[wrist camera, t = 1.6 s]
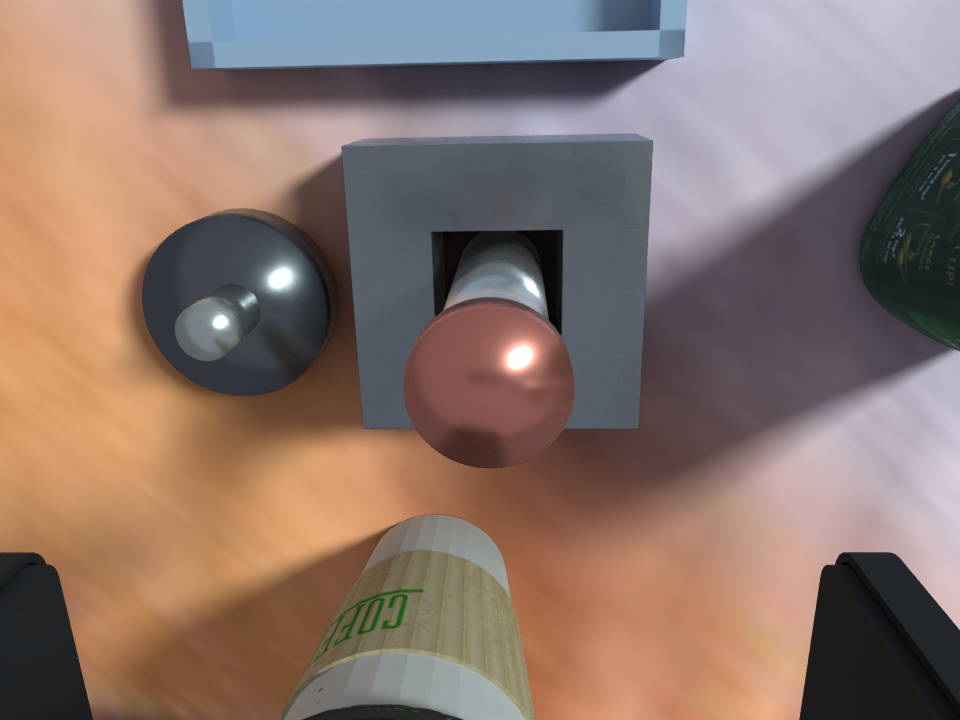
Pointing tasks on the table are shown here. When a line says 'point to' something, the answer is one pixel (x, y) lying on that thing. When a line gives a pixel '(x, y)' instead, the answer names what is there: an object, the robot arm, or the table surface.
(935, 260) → the coffee jar
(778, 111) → the table surface
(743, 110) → the table surface
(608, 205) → the block
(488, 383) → the lock pin
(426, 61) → the tray
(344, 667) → the coffee cup
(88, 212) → the table surface
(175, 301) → the dark knobbed lid
